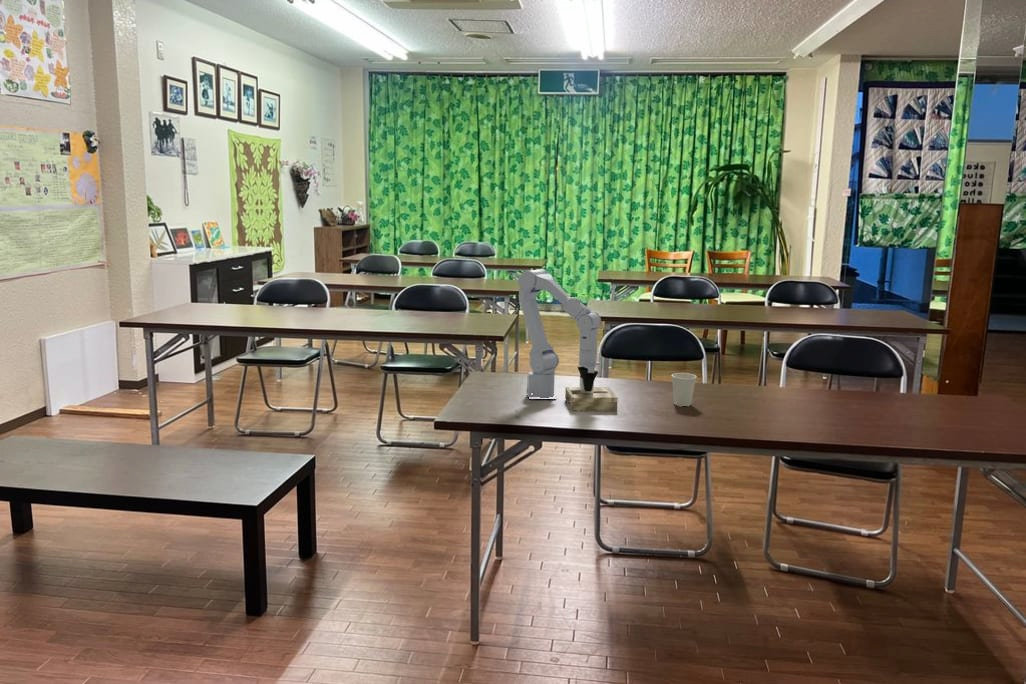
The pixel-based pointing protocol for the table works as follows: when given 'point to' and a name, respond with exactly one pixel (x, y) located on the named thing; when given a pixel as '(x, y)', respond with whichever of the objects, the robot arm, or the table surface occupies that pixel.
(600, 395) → the keyhole plate
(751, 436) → the table surface
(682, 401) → the dixie cup
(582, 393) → the headed peg
